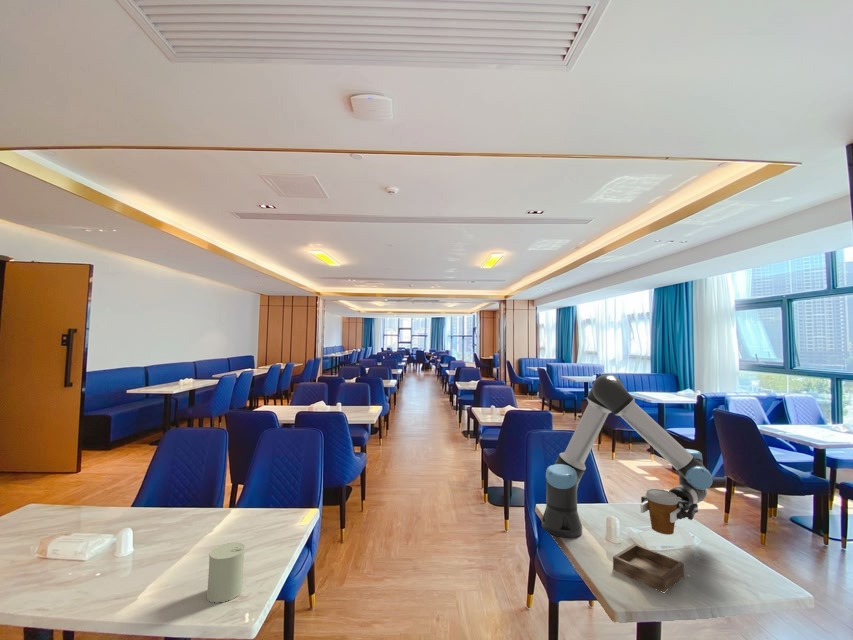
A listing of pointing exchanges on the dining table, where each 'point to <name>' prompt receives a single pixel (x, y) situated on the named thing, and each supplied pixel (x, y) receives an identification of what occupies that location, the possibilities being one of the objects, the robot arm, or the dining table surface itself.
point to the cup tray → (648, 567)
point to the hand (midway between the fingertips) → (656, 513)
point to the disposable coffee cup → (661, 510)
